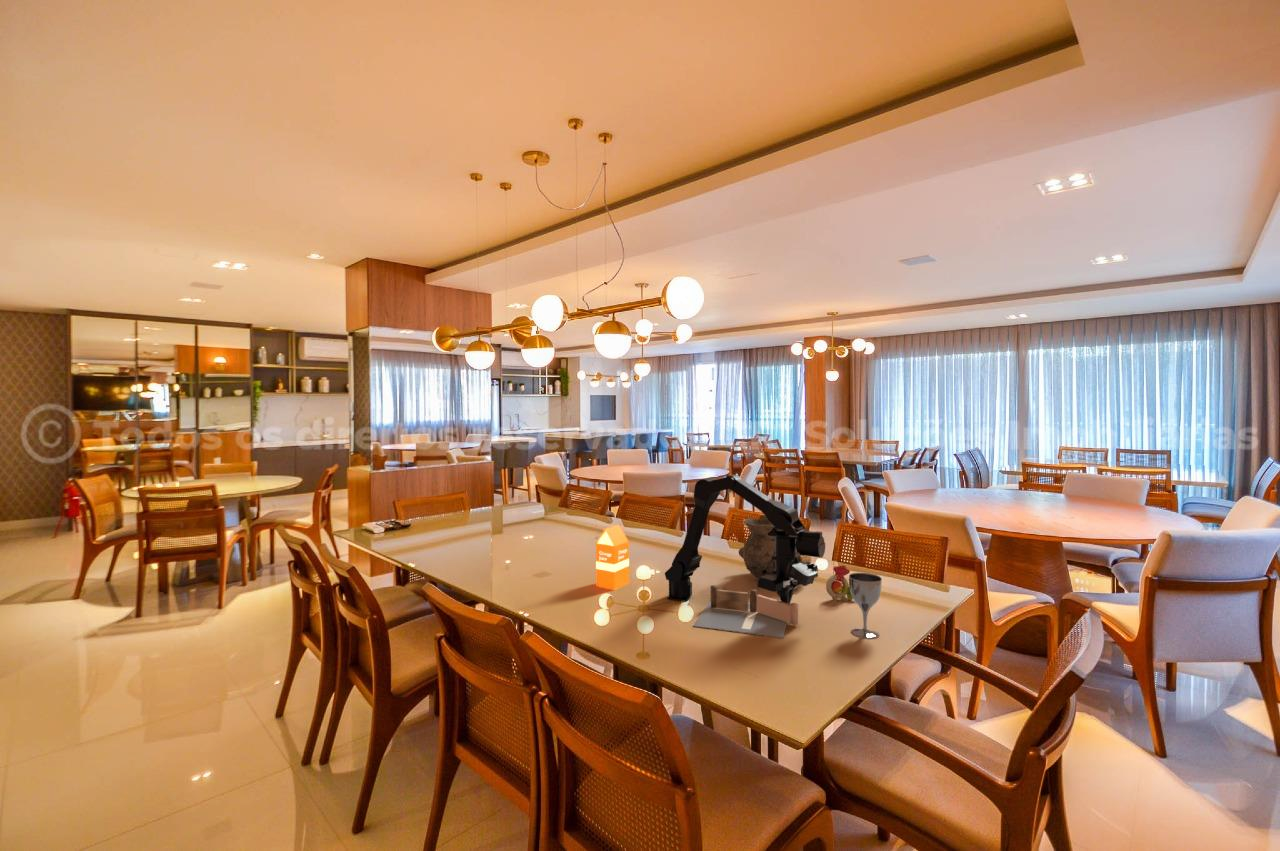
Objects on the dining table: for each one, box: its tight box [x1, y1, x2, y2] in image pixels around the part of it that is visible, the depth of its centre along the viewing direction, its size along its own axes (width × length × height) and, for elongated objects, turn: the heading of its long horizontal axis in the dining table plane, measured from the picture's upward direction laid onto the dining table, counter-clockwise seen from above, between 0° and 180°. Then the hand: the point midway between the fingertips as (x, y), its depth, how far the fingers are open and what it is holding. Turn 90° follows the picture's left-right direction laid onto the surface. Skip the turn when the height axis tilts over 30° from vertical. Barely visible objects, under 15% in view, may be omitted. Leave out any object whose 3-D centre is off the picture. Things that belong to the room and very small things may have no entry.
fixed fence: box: [710, 585, 758, 612], centre depth 165 cm, size 14×2×6 cm, turn 70°
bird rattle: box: [825, 565, 854, 601], centre depth 173 cm, size 6×11×9 cm
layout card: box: [692, 599, 788, 639], centre depth 159 cm, size 24×22×1 cm
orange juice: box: [595, 524, 630, 591], centre depth 190 cm, size 8×9×20 cm
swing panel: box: [757, 594, 799, 626], centre depth 157 cm, size 13×2×5 cm, turn 41°
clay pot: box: [738, 514, 812, 579], centre depth 194 cm, size 25×24×22 cm
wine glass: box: [848, 572, 882, 640], centre depth 147 cm, size 8×8×15 cm
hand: (786, 607), depth 156 cm, fingers closed
